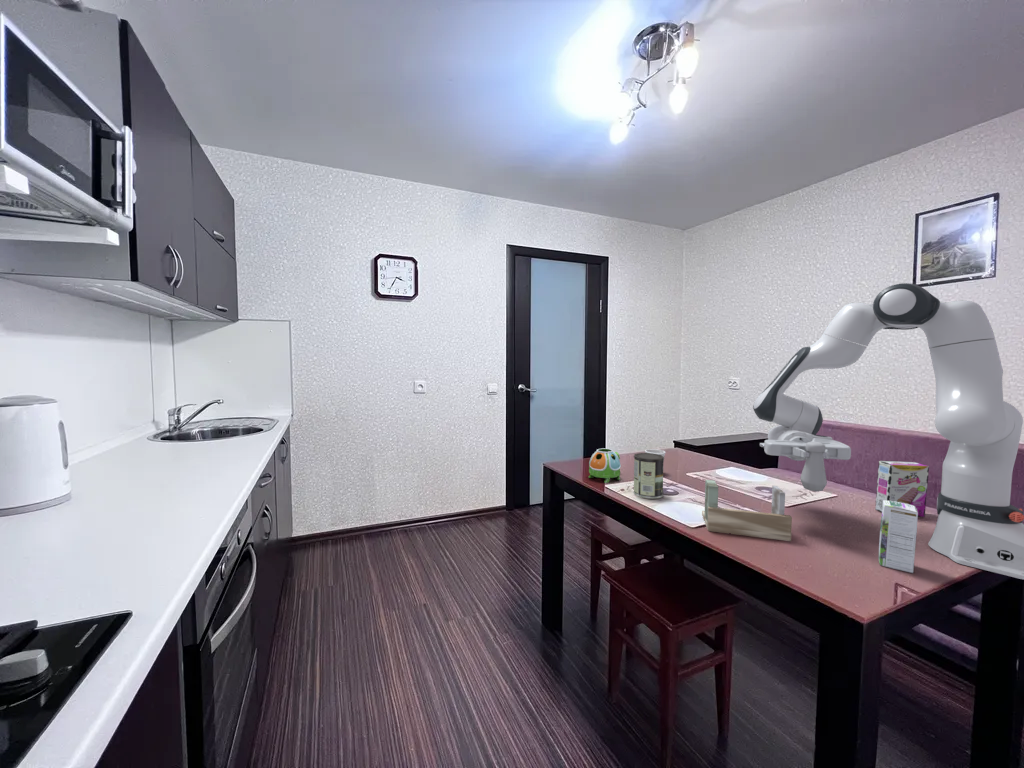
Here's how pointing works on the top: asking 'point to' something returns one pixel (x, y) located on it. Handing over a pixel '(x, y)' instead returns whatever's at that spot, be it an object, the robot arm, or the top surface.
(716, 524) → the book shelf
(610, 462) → the turtle holder
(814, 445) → the salt shaker
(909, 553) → the syrup box
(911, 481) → the candy bar box
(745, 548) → the top surface
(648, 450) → the dixie cup
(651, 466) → the coffee can
